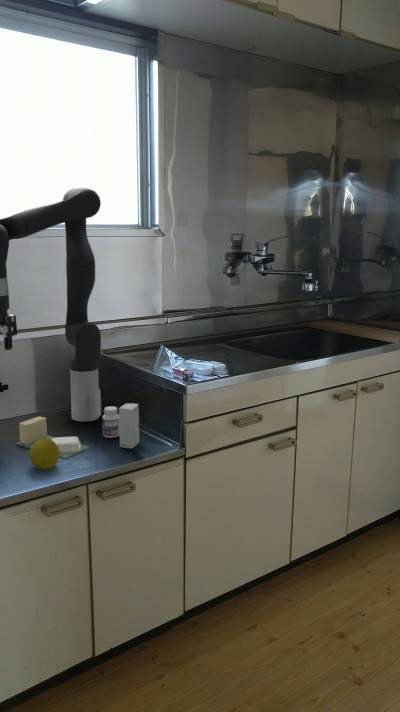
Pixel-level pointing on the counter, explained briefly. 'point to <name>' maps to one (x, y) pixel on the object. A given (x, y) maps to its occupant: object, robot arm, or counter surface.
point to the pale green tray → (39, 434)
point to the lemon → (44, 454)
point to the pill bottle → (110, 422)
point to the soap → (67, 444)
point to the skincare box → (129, 425)
